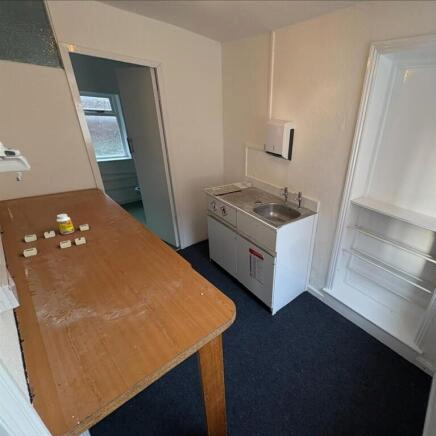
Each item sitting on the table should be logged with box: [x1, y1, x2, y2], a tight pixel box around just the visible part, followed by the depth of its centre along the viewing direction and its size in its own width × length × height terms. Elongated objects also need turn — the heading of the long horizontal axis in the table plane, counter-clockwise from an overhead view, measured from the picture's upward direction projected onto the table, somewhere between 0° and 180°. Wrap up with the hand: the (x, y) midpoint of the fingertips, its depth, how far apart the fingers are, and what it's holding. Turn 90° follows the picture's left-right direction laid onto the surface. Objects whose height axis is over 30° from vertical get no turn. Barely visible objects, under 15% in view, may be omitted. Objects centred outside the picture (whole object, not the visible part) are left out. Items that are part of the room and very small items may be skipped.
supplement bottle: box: [55, 213, 75, 235], centre depth 125 cm, size 6×6×10 cm
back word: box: [24, 223, 90, 243], centre depth 124 cm, size 25×5×2 cm, turn 132°
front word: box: [23, 236, 87, 258], centre depth 112 cm, size 21×4×2 cm, turn 132°
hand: (4, 182), depth 110 cm, fingers open, 8 cm apart
